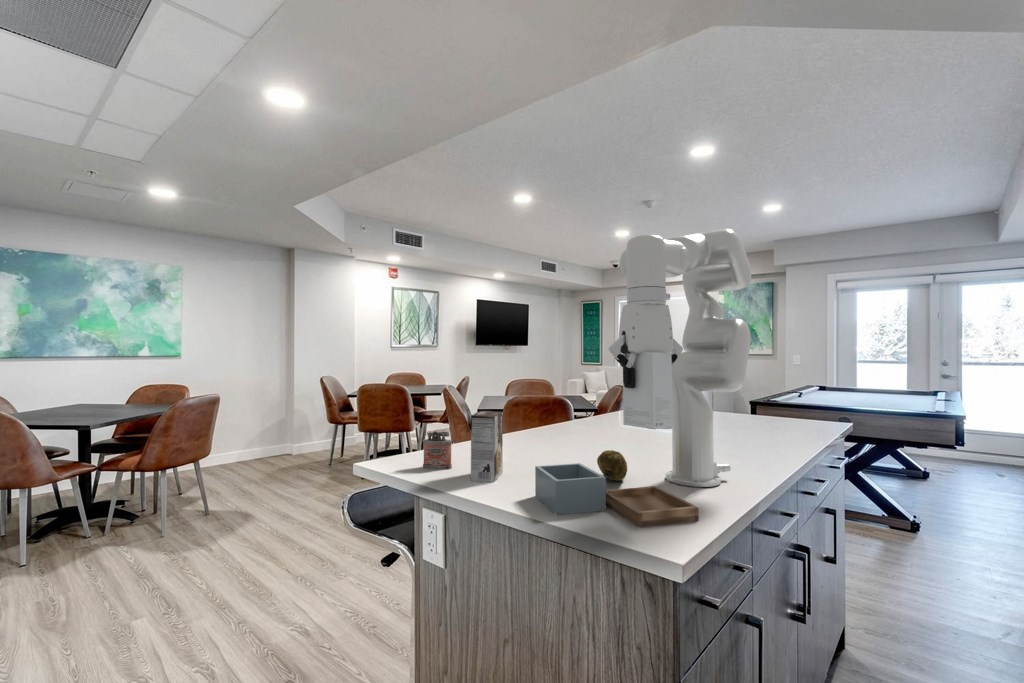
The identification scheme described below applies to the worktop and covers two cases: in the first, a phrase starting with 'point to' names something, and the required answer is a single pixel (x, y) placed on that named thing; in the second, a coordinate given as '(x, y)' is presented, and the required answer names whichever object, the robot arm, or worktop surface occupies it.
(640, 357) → the skincare box
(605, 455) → the potato
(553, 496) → the grey open box frame
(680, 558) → the worktop surface
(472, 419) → the coffee box
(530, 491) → the worktop surface
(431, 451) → the lighter
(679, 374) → the robot arm
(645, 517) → the tray
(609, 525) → the worktop surface
